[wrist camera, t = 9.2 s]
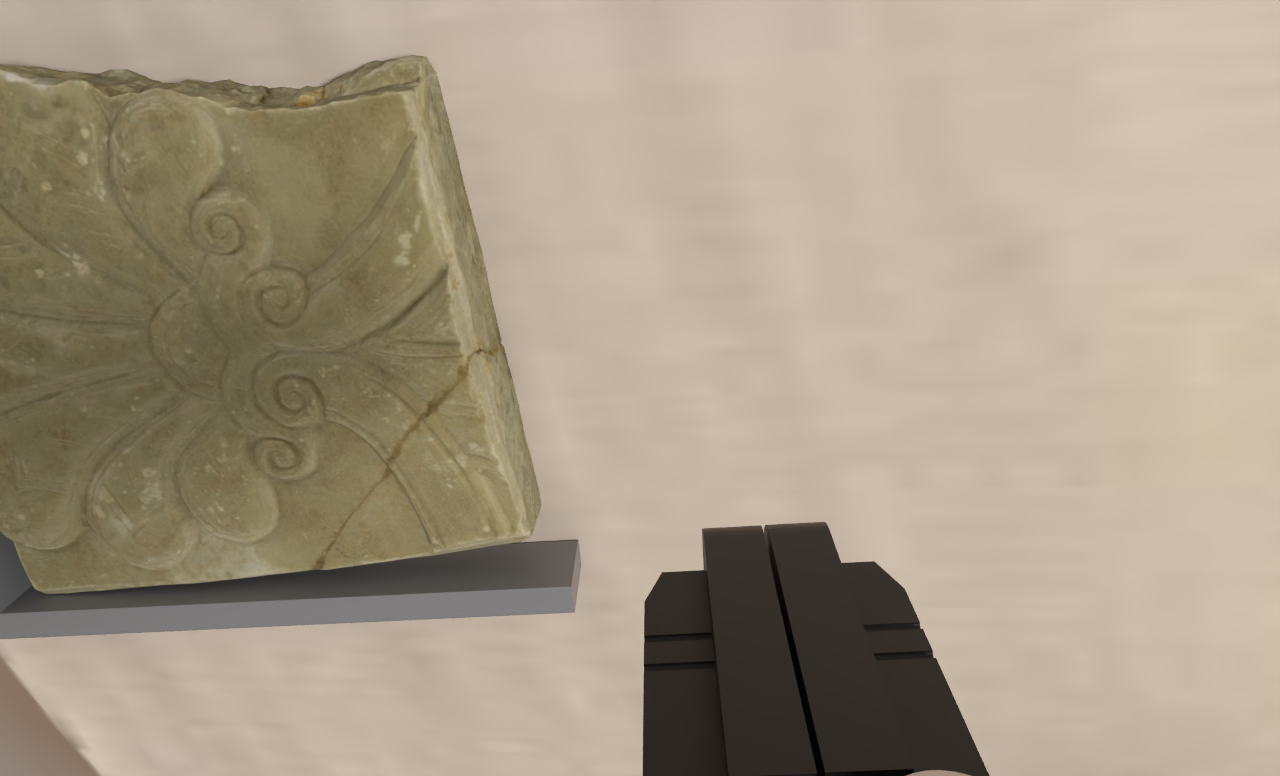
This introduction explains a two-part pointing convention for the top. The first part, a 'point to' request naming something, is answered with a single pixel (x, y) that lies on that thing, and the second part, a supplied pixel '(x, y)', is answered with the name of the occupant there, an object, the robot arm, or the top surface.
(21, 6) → the top surface
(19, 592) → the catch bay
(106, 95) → the decorative tile
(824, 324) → the top surface
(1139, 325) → the top surface
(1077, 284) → the top surface
